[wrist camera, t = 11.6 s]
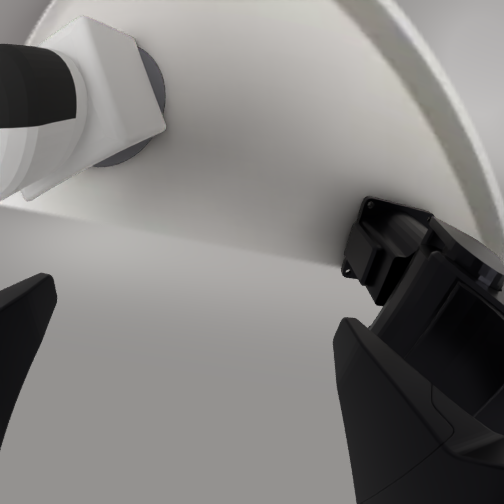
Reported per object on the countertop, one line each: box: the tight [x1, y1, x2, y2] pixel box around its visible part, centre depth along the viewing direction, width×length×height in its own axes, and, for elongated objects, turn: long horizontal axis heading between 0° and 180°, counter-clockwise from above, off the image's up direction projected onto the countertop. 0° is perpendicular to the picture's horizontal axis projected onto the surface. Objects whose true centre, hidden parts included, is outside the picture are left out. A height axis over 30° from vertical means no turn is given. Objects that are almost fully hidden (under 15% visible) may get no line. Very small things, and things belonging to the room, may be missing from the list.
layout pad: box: [93, 47, 165, 167], centre depth 17 cm, size 9×9×1 cm
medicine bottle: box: [0, 16, 166, 201], centre depth 11 cm, size 7×7×12 cm
